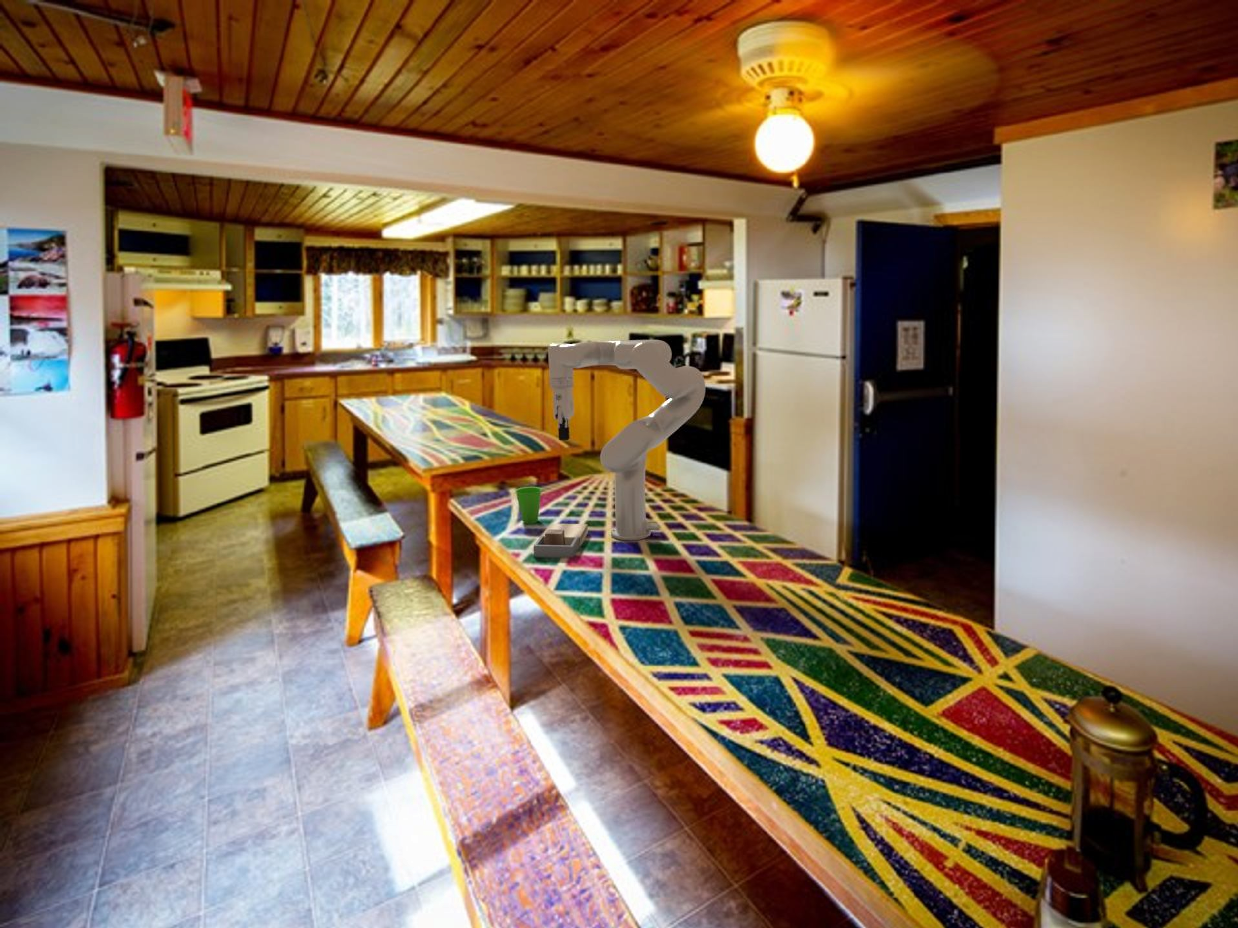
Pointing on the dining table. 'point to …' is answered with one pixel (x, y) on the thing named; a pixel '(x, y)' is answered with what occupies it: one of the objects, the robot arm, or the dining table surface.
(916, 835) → the dining table surface
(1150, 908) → the dining table surface
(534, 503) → the cup
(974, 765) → the dining table surface
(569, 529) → the board
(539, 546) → the bin
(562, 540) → the block
